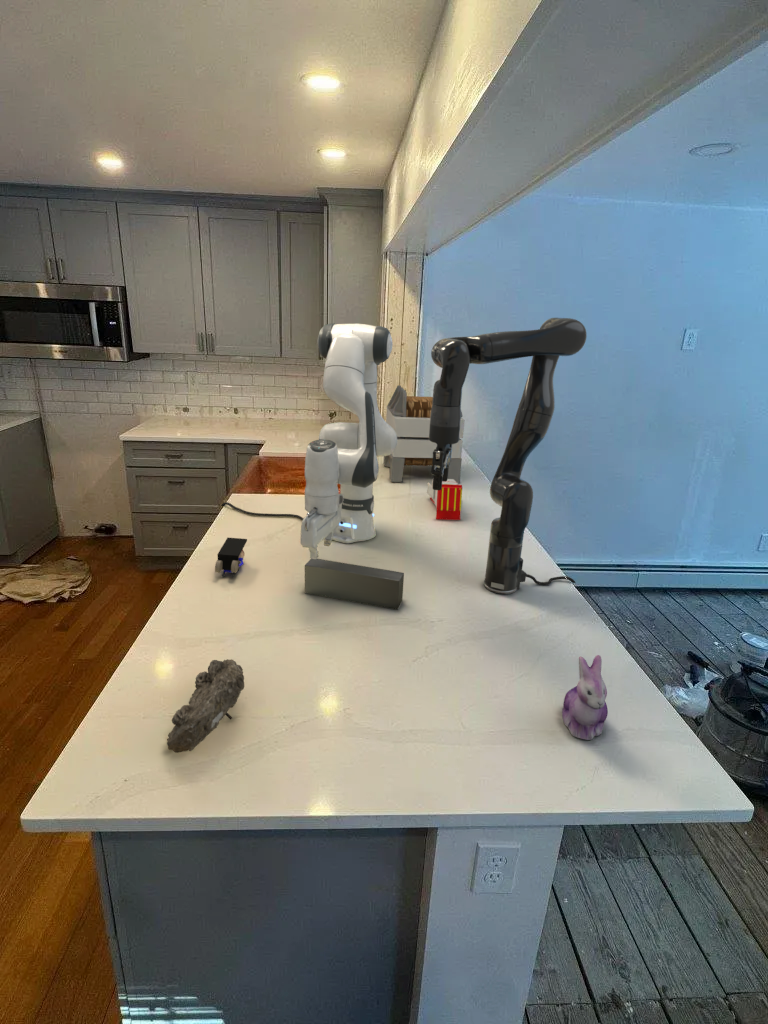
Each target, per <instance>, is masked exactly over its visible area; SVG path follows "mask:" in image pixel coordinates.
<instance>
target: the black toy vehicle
mask: <svg viewBox="0 0 768 1024" xmlns="http://www.w3.org/2000/svg"><path fill="white" fill-rule="evenodd" d="M247 542H248V538H240V537H226V539H225V541H224V543H223V544H222V546H221V547H220V549H219V551H218V552H217V560H216V562H215V564H214V572H215V573H221V577H222V578H224V577H225V576H226V574H227V573H230V574H231V573H232V574H231V578H234V577H235V575H236V573H237V572H239V571H240V567H242V566H243V565H244V564H245V562H244V558H245V551H244V547H245V546H246V544H247Z"/></svg>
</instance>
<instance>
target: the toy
mask: <svg viewBox="0 0 768 1024" xmlns="http://www.w3.org/2000/svg"><path fill="white" fill-rule="evenodd" d="M431 480H432V481H431V483H430V482H427V487H426V493H427V495H429V500H430V501H431V502H432V503H433V504H434V506H435V508H436V510H435V511H436V513H435V520H442V521H443V520H445V521H447V520H448V521H461V511H462V502H463V501H462V500H463V499H462V498H463V484H459V483H457V482H456V481H455V480H454V479H448V480H447V481H446V482H445V481H442V489H441V490H433V478H432V479H431Z"/></svg>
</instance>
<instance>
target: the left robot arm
mask: <svg viewBox="0 0 768 1024" xmlns="http://www.w3.org/2000/svg"><path fill="white" fill-rule="evenodd" d="M317 348H318V352H319V355H321V357H322V358H323V359H325V364H324V368H323V369H324V370H323V377H322V388H323V391H324V393H325V395H326V397H327V398H328V399H329V400H330V401H331V402H332V403H334V404H335V405H337V406H339V407H340V408H343V409H344V410H347V411H349V412H350V413H352V414H353V415H355V416H356V417H357V418H358V422H347V421H346V422H343V421H337V422H331V423H325V424H324V425H323V426H322V427H321V429H320V431H319V433H318V439H316V440H313V441H310V442H309V443H308V444H307V447H306V452H305V458H304V480H305V487H304V510H305V511H306V512H307V513H306V516H305V517H302V516H301V515H299V514H294V513H293V514H292V513H263V512H261V513H260V512H251V511H247V510H244V509H242V508H239V507H238V506H237V507H236V506H235V505H233V504H232V503H230V502H228V501H225V502H223V503H222V504H221V507H225V506H229V507H230V508H232V509H233V510H235V511H238V512H240V513H242V514H245V515H249V516H255V517H273V518H274V517H275V518H276V517H279V518H281V517H282V518H283V517H284V518H286V517H288V518H297V519H299V520H300V521H301V526H300V539H299V540H300V541H299V542H300V546H301V547H302V548H304V549H305V548H306V549H308V551H309V556H310V557H309V558H310V559H319V556H320V552H319V550H318V545H319V544H320V543H321V542H322V541H323V546H324V547H331V545H332V542H333V541H336V542H339V543H343V544H352V543H357V542H365V541H368V540H372V539H373V538H375V537H376V535H377V532H376V528H375V523H374V517H375V513H373V512H374V509H375V496H374V482H376V481H377V479H378V475H379V471H380V470H379V469H380V468H379V459H378V458H380V457H384V456H387V455H391V454H392V453H393V452H394V450H395V448H396V446H397V435H396V432H395V431H394V429H393V428H392V427H391V426H390V425H388V424H387V423H386V419H384V417H383V416H382V414H381V412H380V410H379V406H378V367H377V366H380V364H382V363H385V362H386V361H388V359H390V355H391V354H392V350H393V338H392V334H391V332H390V330H389V329H388V328H387V327H384V326H382V325H378V324H377V325H372V324H367V323H366V324H365V323H357V322H356V323H337V324H336V323H335V322H333V323H327V324H324V325H323V326H322V327H321V328H320V329H319V332H318V336H317ZM338 485H340V488H339V487H338ZM339 489H340V490H339Z"/></svg>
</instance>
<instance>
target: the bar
mask: <svg viewBox="0 0 768 1024" xmlns="http://www.w3.org/2000/svg"><path fill="white" fill-rule="evenodd" d="M404 579H405V572H402V571H396V570H390V569H384V568H377V567H370V566H365V565H361V564H360V565H358V564H354V563H347V562H340V561H334V560H328V559H322V558H317V559H311V558H310V559H309V560H308V561H307V562H306V563H304V594H308V595H313V596H319V597H325V598H330V599H335V600H341V601H347V602H350V603H351V602H352V603H358V604H363V605H369V606H373V607H380V608H385V609H390V610H395V611H396V610H397V611H398V610H399V609H400V606H401V605H402V603H403V597H404V582H405V581H404Z"/></svg>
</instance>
